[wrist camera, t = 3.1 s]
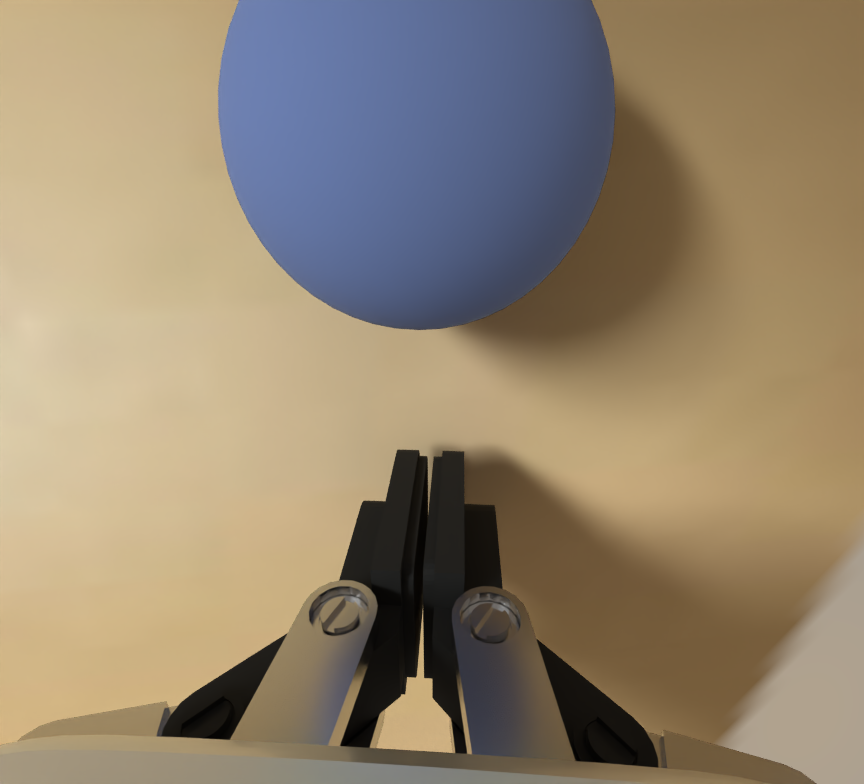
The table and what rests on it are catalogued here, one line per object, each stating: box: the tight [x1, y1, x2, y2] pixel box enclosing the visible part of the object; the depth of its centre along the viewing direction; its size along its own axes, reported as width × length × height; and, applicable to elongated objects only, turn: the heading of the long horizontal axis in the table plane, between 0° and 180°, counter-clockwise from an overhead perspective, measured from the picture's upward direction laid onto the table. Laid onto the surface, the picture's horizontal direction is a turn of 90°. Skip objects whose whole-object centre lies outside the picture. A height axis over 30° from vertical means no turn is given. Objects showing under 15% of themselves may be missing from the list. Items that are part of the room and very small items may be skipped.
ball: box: [218, 0, 615, 330], centre depth 7 cm, size 6×6×6 cm
